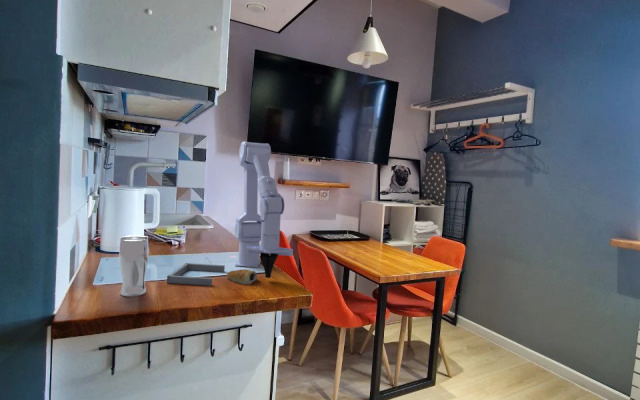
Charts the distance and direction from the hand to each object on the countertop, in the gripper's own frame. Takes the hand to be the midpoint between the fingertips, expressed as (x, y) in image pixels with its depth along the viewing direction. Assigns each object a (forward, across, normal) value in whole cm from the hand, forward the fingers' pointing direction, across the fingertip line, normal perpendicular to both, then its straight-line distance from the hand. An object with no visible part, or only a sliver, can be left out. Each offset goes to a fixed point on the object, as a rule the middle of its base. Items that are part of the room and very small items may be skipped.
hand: (268, 276), depth 115 cm
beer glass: (+2, -34, -17) cm, 38 cm away
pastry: (+2, -8, -1) cm, 8 cm away
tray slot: (+1, -22, 0) cm, 22 cm away
